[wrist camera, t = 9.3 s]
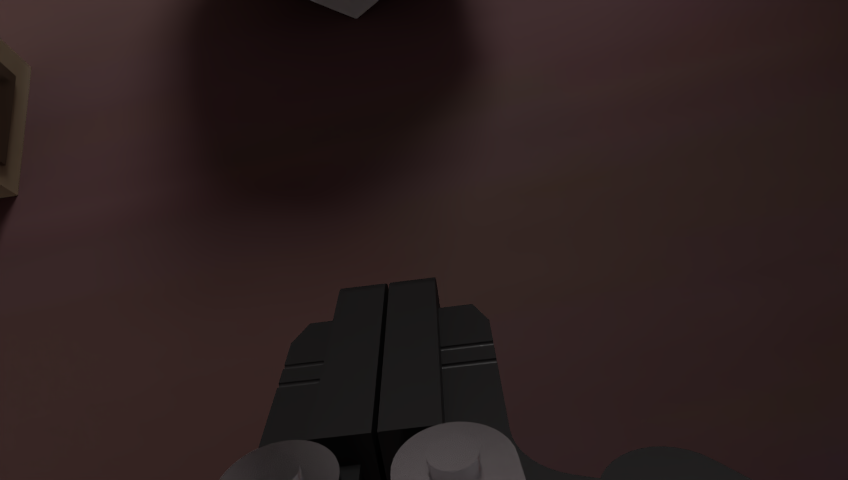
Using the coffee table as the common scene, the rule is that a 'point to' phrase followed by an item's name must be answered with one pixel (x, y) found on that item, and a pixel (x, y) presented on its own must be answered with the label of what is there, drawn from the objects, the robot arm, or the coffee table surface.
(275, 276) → the coffee table surface
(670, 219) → the coffee table surface
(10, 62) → the letter block
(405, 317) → the robot arm
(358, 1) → the die
